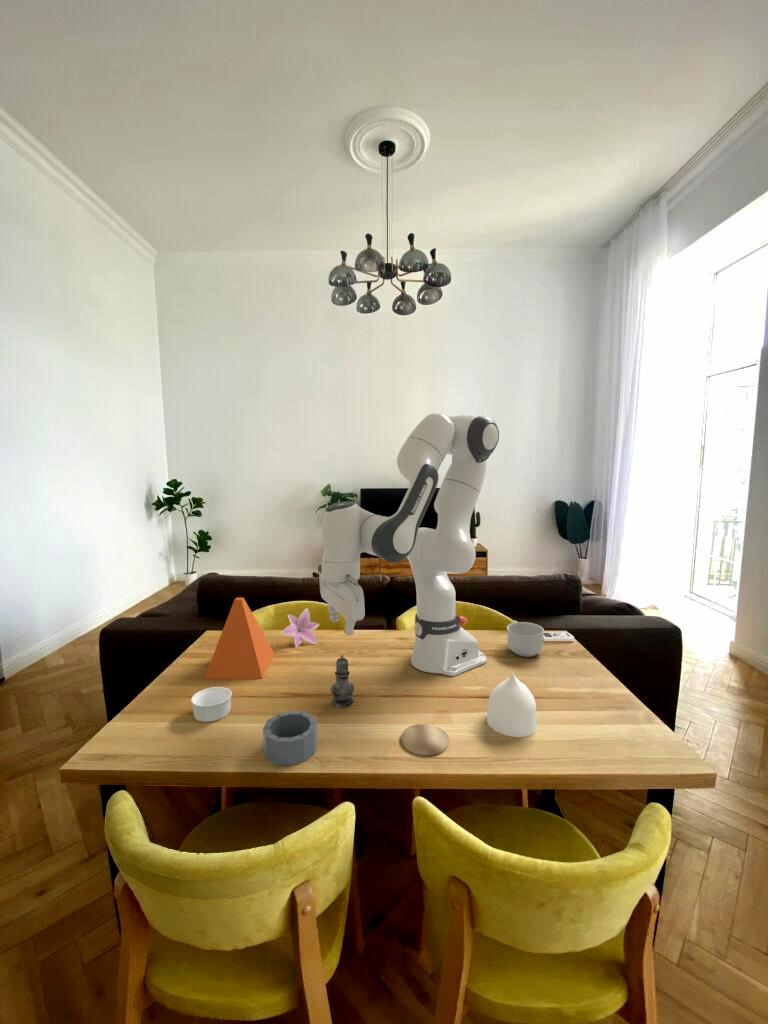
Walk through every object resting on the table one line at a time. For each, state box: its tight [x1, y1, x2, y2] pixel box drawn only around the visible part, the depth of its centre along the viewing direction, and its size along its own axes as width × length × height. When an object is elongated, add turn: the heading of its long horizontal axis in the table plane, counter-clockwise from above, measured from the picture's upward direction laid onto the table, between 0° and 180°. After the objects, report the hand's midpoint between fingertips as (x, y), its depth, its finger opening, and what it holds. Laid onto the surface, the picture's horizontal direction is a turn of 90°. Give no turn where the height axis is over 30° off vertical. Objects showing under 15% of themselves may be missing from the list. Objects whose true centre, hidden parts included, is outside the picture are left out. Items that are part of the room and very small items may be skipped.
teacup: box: [506, 620, 545, 658], centre depth 139 cm, size 14×11×8 cm
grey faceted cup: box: [262, 710, 318, 767], centre depth 92 cm, size 10×10×5 cm
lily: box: [280, 607, 320, 648], centre depth 146 cm, size 12×12×10 cm
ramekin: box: [190, 686, 233, 723], centre depth 105 cm, size 9×9×4 cm
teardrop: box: [486, 672, 538, 738], centre depth 101 cm, size 11×11×12 cm
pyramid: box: [203, 597, 275, 680], centre depth 128 cm, size 16×16×20 cm
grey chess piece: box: [330, 654, 355, 709], centre depth 109 cm, size 6×6×12 cm
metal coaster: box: [400, 723, 450, 757], centre depth 95 cm, size 10×10×1 cm
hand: (341, 627), depth 108 cm, fingers open, 8 cm apart
